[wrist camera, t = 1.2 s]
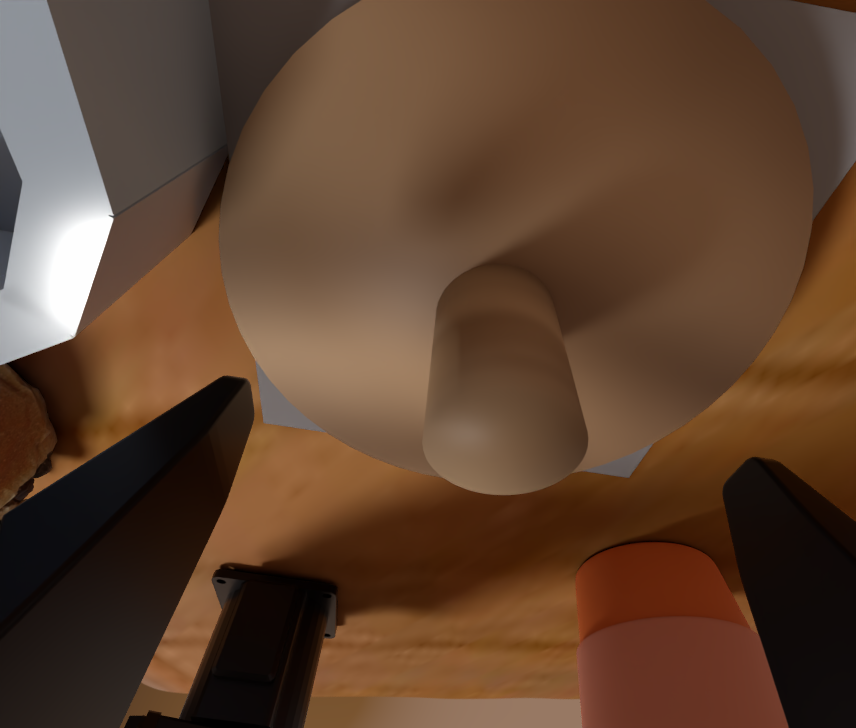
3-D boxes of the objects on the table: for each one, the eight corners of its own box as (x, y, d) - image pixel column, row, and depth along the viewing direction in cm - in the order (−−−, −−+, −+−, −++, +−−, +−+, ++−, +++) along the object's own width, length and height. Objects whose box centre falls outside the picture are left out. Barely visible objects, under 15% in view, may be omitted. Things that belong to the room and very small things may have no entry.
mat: (625, 468, 16) (628, 477, 16) (267, 414, 16) (263, 423, 16) (929, 29, 8) (948, 30, 8) (204, -112, 8) (193, -117, 7)
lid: (628, 477, 16) (680, 638, 12) (263, 422, 16) (193, 569, 12) (947, 31, 8) (1443, 74, 4) (194, -115, 7) (-131, -239, 3)
